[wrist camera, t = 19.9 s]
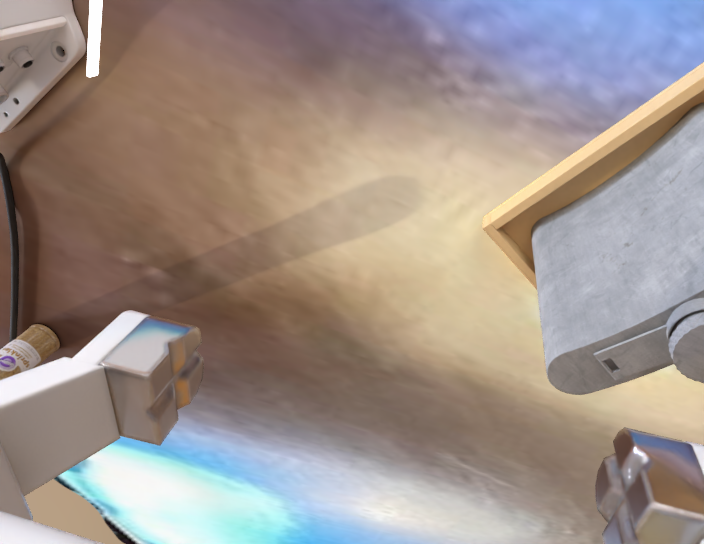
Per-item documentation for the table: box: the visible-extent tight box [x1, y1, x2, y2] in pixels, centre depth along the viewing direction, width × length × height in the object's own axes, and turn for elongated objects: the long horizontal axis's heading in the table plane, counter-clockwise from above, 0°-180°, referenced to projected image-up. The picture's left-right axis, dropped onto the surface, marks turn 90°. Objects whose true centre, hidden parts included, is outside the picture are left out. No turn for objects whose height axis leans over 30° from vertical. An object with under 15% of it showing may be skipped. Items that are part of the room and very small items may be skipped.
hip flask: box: [531, 102, 704, 395], centre depth 31 cm, size 16×4×20 cm, turn 138°
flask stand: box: [483, 62, 704, 289], centre depth 39 cm, size 20×9×2 cm, turn 135°
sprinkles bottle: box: [0, 324, 60, 380], centre depth 61 cm, size 5×5×13 cm
